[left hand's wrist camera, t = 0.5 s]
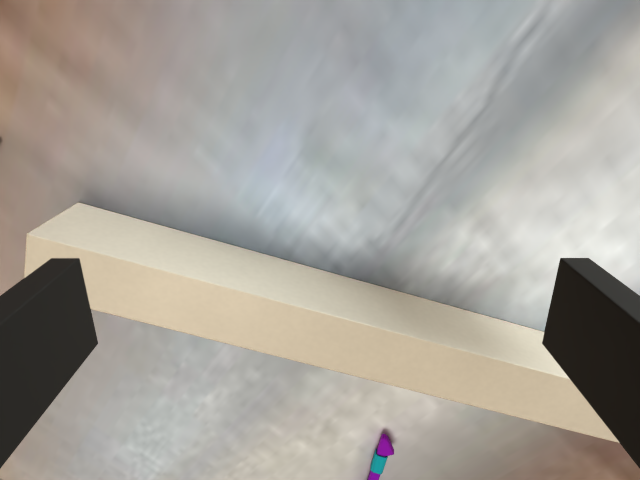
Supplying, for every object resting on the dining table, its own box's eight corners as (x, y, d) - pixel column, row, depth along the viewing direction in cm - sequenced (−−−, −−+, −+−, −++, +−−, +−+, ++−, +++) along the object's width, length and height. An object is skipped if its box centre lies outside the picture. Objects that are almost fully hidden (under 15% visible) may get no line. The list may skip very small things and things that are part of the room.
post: (72, 252, 41) (22, 292, 34) (78, 201, 39) (26, 233, 32) (661, 408, 48) (719, 468, 41) (689, 371, 46) (754, 428, 39)
